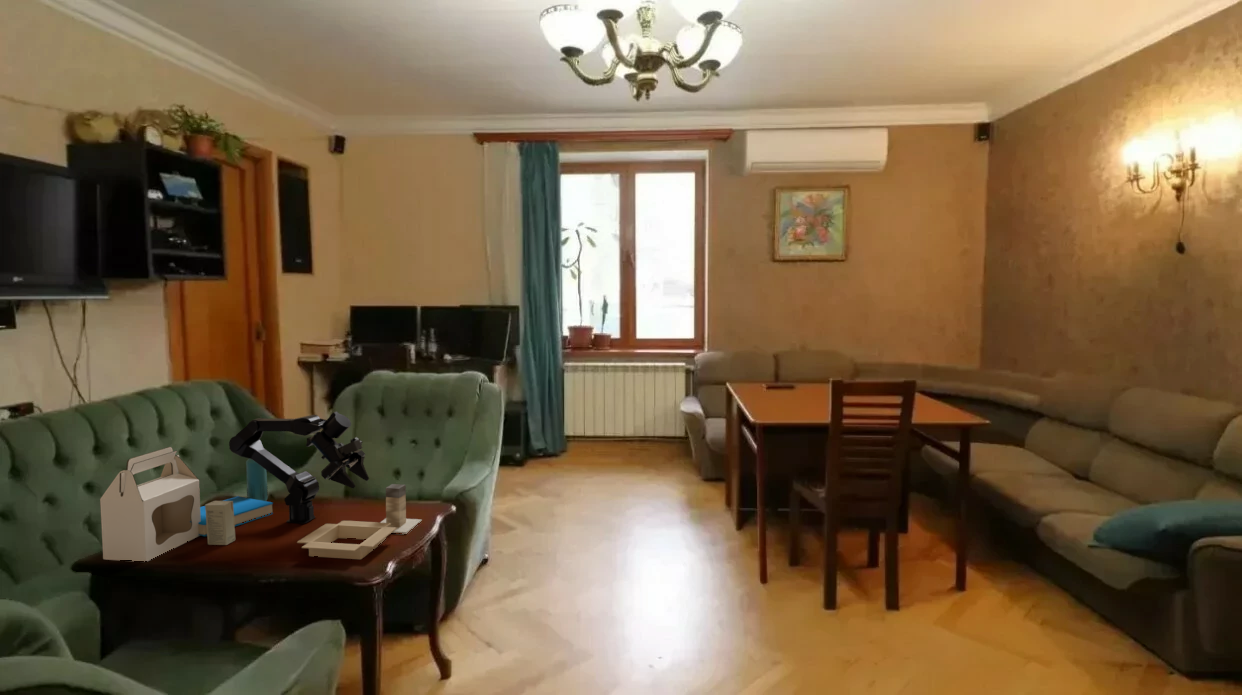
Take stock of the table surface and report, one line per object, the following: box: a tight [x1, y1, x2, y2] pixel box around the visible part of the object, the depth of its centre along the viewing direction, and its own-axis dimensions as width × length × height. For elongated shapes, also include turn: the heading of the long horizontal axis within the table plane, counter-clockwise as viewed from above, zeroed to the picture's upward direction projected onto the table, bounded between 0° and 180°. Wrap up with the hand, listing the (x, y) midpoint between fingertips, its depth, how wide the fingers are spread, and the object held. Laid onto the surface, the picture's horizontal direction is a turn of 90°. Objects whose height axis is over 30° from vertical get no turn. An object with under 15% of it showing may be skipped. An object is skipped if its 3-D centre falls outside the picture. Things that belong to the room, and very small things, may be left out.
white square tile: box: [379, 517, 423, 535], centre depth 226 cm, size 12×12×1 cm
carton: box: [296, 520, 397, 560], centre depth 208 cm, size 23×23×4 cm
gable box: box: [99, 446, 201, 563], centre depth 205 cm, size 22×13×28 cm, turn 173°
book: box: [190, 495, 274, 537], centre depth 229 cm, size 17×4×25 cm
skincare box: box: [204, 500, 236, 546], centre depth 210 cm, size 6×4×12 cm
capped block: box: [385, 483, 407, 527], centre depth 225 cm, size 4×4×12 cm
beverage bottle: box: [245, 458, 269, 501], centre depth 246 cm, size 6×7×20 cm
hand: (361, 483), depth 226 cm, fingers open, 9 cm apart
